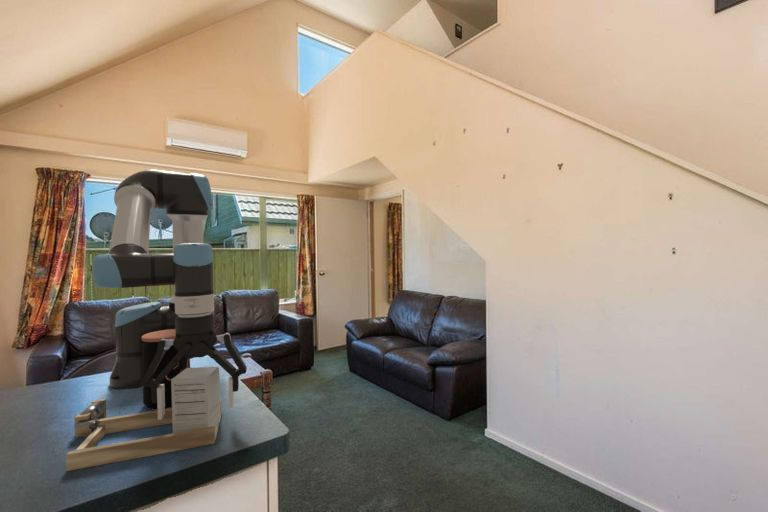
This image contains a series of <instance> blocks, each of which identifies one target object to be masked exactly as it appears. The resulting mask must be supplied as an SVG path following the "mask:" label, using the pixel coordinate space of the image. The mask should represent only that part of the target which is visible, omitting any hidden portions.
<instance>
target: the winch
mask: <svg viewBox="0 0 768 512" xmlns="http://www.w3.org/2000/svg"><path fill="white" fill-rule="evenodd" d="M103 418H108V417H107V399H106V398H101V399H93V401H91V403H90V404H89V406H88V407H86V408H85V409H84V410H83V411H82V412H81V413H79V414H77V415H76V416H75V417H74V427H73V428H74V438H75V439H79V438H85V437H88V436H89V435H90V434H91V433H92V430H93V429H96V428H95V427H97V426H98V424H99V420H100V419H103Z"/></svg>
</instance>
